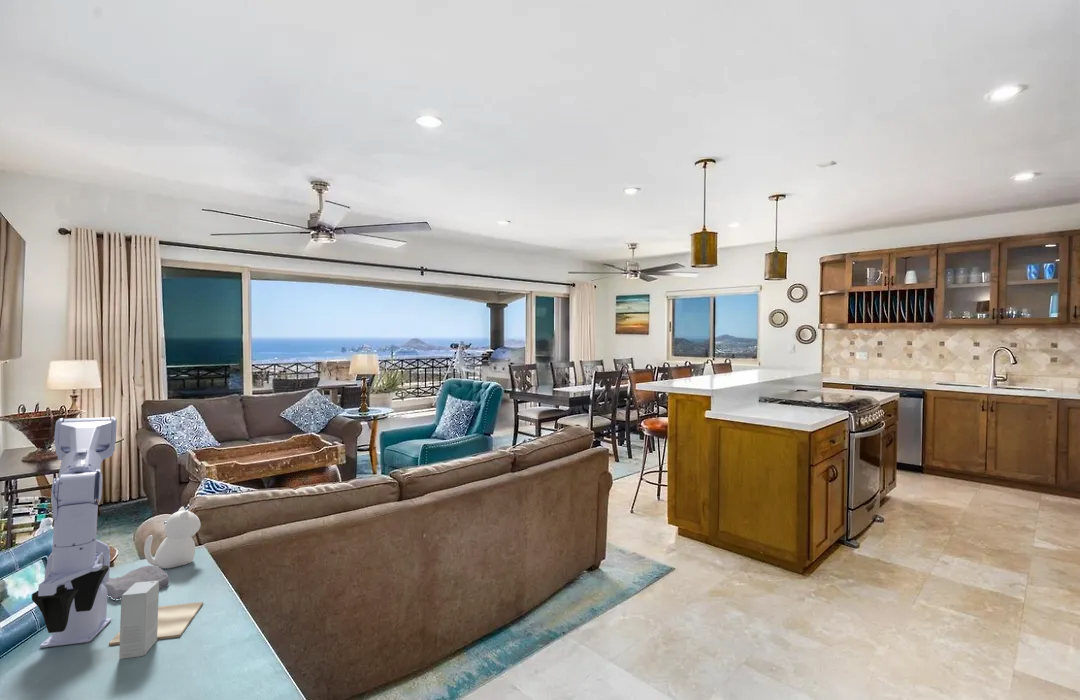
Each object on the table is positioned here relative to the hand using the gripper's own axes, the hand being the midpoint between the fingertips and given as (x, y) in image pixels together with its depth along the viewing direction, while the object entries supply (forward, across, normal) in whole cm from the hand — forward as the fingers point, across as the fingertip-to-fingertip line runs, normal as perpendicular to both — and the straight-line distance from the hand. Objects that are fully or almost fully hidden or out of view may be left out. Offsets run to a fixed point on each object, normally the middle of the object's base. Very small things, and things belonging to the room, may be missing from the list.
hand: (70, 620), depth 90 cm
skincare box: (+11, +9, -7) cm, 15 cm away
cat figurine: (+10, +55, +5) cm, 56 cm away
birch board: (+10, +20, -6) cm, 23 cm away
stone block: (+11, +39, +6) cm, 41 cm away
